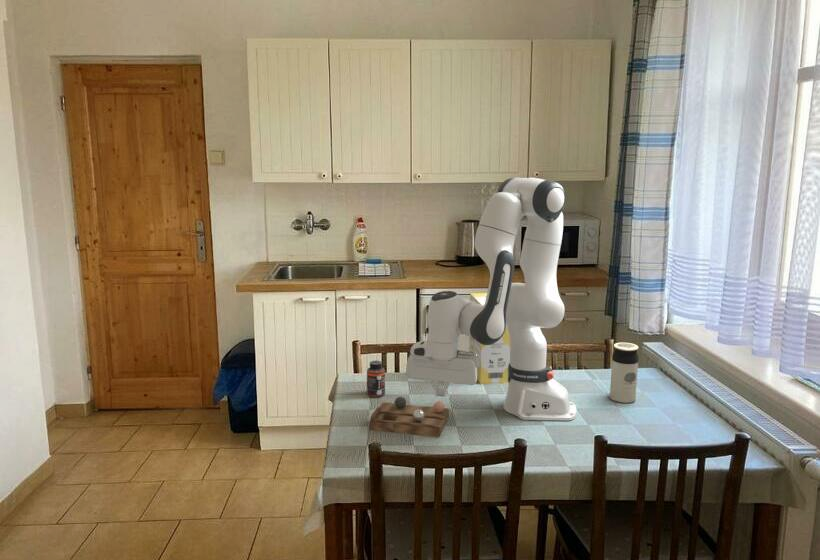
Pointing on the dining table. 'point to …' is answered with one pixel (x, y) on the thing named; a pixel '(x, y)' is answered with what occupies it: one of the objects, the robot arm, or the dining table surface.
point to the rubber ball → (400, 402)
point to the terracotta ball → (438, 406)
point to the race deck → (408, 420)
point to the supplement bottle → (376, 379)
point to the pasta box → (491, 353)
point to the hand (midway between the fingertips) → (440, 395)
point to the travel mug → (624, 373)
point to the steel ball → (418, 415)
